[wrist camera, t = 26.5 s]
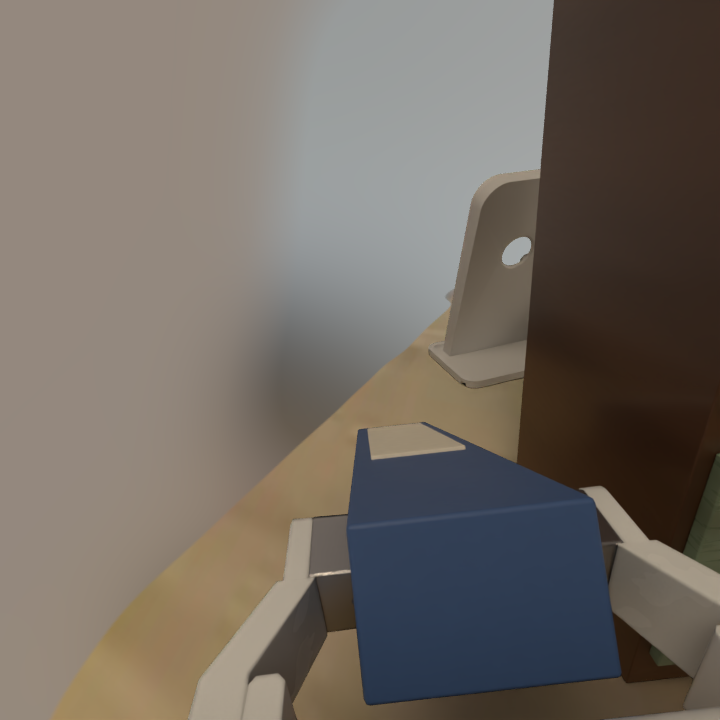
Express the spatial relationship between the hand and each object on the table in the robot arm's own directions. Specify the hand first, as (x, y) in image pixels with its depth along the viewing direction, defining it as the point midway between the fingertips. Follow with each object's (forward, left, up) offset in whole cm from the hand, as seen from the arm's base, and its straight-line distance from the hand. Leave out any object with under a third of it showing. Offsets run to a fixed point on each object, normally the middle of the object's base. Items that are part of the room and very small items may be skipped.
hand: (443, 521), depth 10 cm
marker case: (0, -5, -5) cm, 7 cm away
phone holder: (-15, -32, -12) cm, 38 cm away
